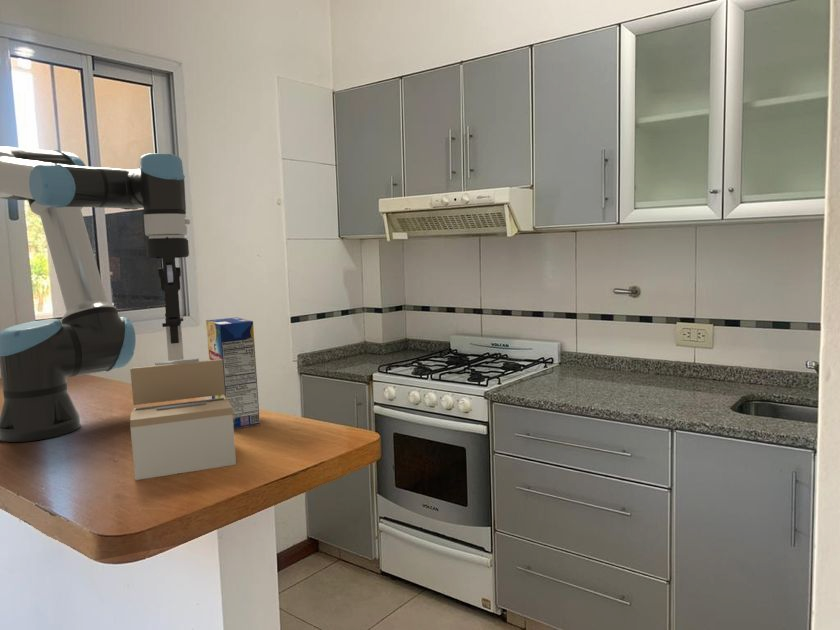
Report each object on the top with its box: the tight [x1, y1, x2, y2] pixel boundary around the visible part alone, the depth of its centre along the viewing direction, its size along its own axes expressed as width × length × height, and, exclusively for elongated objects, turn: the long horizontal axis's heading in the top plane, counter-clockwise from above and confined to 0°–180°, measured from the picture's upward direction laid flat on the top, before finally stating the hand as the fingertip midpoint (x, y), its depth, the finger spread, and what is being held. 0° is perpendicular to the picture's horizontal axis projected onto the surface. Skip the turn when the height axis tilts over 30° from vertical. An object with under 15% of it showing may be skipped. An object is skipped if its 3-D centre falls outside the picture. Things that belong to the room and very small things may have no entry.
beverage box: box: [205, 316, 261, 430], centre depth 138 cm, size 7×11×22 cm, turn 33°
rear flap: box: [130, 358, 225, 406], centre depth 123 cm, size 7×16×8 cm
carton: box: [129, 398, 237, 481], centre depth 114 cm, size 14×16×10 cm
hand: (175, 357), depth 126 cm, fingers open, 5 cm apart
